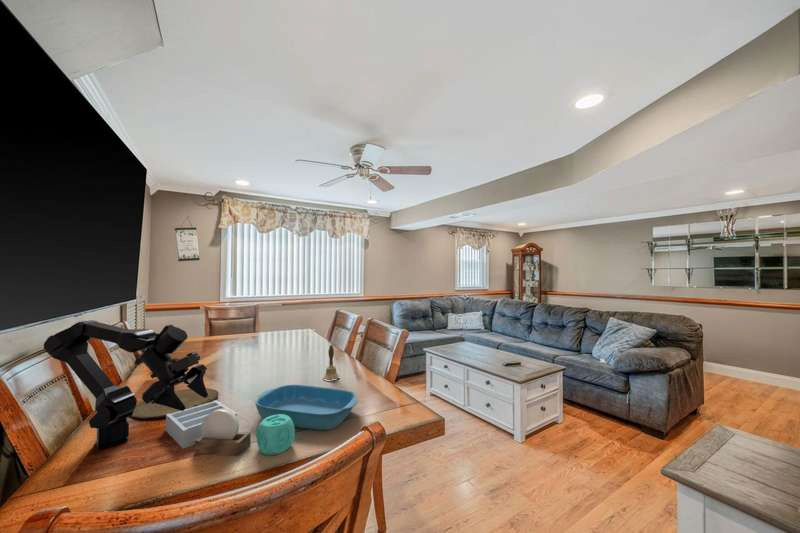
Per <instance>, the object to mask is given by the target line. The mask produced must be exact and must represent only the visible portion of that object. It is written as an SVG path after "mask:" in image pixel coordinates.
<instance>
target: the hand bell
mask: <svg viewBox="0 0 800 533" xmlns="http://www.w3.org/2000/svg"><path fill="white" fill-rule="evenodd" d="M334 355H335V350H334V346H333V345H331V344H330V345H329V348H328V358H329V363H328V364H329V365H328V366H327V367H326V371H325V374H324V376H323V377H322V379H323V378H324V379H327V380H332V379H337V378H338V377H340V375H339V374H338V372H337V367H336V366H335V365H334V361H333V360H334V359H333V358H334Z"/></svg>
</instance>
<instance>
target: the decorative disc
mask: <svg viewBox="0 0 800 533" xmlns="http://www.w3.org/2000/svg"><path fill="white" fill-rule="evenodd" d="M206 390H207V393H208V396H207V397H206V398H204V397H202V396H200V395H199V394H197V393H196V392H194V391H193V390H191V389H190V388H188V389H181V390H176V391H175V390H174V392H175V394H176V395H177V396H178V398H179V399H180V400H181V402H182V403H183V404H184V406H185V407H186V409H189V408H193V407H196V406H200V405H203V404H207V403H210V402H213V401H215V400H217V398H218V397H219V395H220V394H219V391H218V390H216V389H214V388H208V387H207V388H206ZM152 402H153V401H152ZM152 402H150V403H148V404H146V403H145V402H144V401H140V402H137V403H136V407H135V409H134V412H133V414H132V416H131V418H134V419H137V420H138V419H139V420H149V419H161V418H166V414H169V413H170V414H172V413H175V412H179V411H180V410H177V409H174V408H171V407H168V406H164V405H160V404H152ZM186 409H185V410H186Z"/></svg>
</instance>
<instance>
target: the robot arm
mask: <svg viewBox="0 0 800 533" xmlns="http://www.w3.org/2000/svg"><path fill="white" fill-rule="evenodd" d="M92 338H93V339H97V340H100V341H105V342H110V343H114V344H116V345H117V346H118V348H119V349H121V350H124V351H126V352H128V353H130V354H131V353H138V352H140V351H143V350H144V351H143V352H142V353H139V354H136V355H135V356H136V357H135V360H134V365H135V366H137V365H139V364H140V365H141V364H144V365H145V366H146V367H147V369H148V370H149V371H150V372H151V373H152V374H150V378H151V379H155V378H156V379H158V380H157V381H155V382H152V384H151V385H150V386H148V388H147V389H146V390H145V391H144V392H143V393H142V397H141V399H142V400H143V401H144V402H145V403H146V404H148V403H150V402H152V401H153V402H152V404H160V405H164V406H168V407H171V408H174V409H177V410H180V411H184V410H185V409H186V407H185V406H184V404H183V403H182V402H181V400H180V399H179V398H178V396H177V395H176V394H175V386H177V385H180V384H182V383H183V384H185V385H187V386H186V388H188V389H191V390H193V391H194V392H196V393H197V394H199V395H200V396H202V397H204V398H206V397H207V396H208V393H207V390H206V385H205V382H204V376H205V374H206V372H207V370H208V368H207V367H206V366H205V364H203V363H201V364H200V362H199V361H200V360H201V355H200V354H199V353H198V352H196V351H195V350H194V351H191V352H189V353H187V354H186V356H184V357H183V358H180V359H179V357H178V358H177V357H175V358H172V357H171V355H170V354H173V353H175V352H176V351H177V349H179V348H180V346H181V345H182V344H184V342H185V341H186V340H187V339H188V334H187V332H186V330H183V329H181V328H180V327H176V326H174V325H173V324H167V325H165V326H164V327H163V328H162V330H161V331H160V332H159V333H158V332H155V331H154V330H153V329H148V328H147V329H146V328H145V329H143V328H137V329H130V328H129V329H127V328H123V327H120V326H115V325H111V324H107V323H104V322H99V321H97V320H94V319H90V320H84V321H78V322H76V323H74V324H73V325H71V326H70V327H67V328H65V329H63V330H61V331H59V332H56V333H55V334H54V335H52V334H51V335H50V336H48V337H47V339H46V340H45V341H44V343H43V348H44V351H45V352H46V354H48V355H49V356H50V357H52V358H53V359H54V360H57V361H60V362H64V363H66V364H67V365H68V366H69V367H70V368H71V370H72V371H73V373H75V375H76V376H77V377H78V378H79V379H80V381H81V382H82V383H83V385H85V387H86V388H87V389H88V390H89V392H90V393H91V394H92V395H93V397H94V398H95V407H94V410H95V411H96V413H95V414H94V415H93V416H92V417H91V418H90V419H89V420H88V424H89V427H90V429H96V440H95V441H94V442H95V446H96V449H97V450H98V451H102V450H104V449H107V448H111V447H115V446H117V445H121V444H123V443H127V442H128V441H129V435H130V423H129V421H128V420H127V419H128V418H129V417H130V416H132V414H133V412H134V409H135V407H136V405H137V404H138V400H137V398H136V397H135V396H136V393H135V392H133V391H132V390H131V388H130V386H128V385H123V386H122V387H120V386H119V387H118V386H116V385H115V384H114V382H113V381H112V379H110V378H109V376H108V375H107V374H106V373H105V372H104V371H103V369H102V367H100V366H99V365H98V363H97V362H96V361H95V360H94V358H93V357H92V356H91V354H89V352H88V347H89V342H88V341H90V340H91V339H92ZM194 365H195V366H194ZM190 367H191V368H190ZM143 401H142V402H143Z"/></svg>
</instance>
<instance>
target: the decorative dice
mask: <svg viewBox="0 0 800 533" xmlns="http://www.w3.org/2000/svg"><path fill="white" fill-rule="evenodd" d="M295 428H296V427H295V426H294V424H293V421H292V419H291V418H290V417H289V416H287V415H283V414H278V415H272V416H269V417H267V418H265V419H262V420H261V421H260V422H259V424H258V426H257V428H256V433H255V438H256V443H257V447H258V449H259V451H260V452H261V453H262V454H264V455H266V456H273V455H279V454H282V453H284V452H285V451H286V452H287V450H288V449H289V448H290V447H291V446H292V445H293V442H294V440H295V437H296V429H295Z"/></svg>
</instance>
